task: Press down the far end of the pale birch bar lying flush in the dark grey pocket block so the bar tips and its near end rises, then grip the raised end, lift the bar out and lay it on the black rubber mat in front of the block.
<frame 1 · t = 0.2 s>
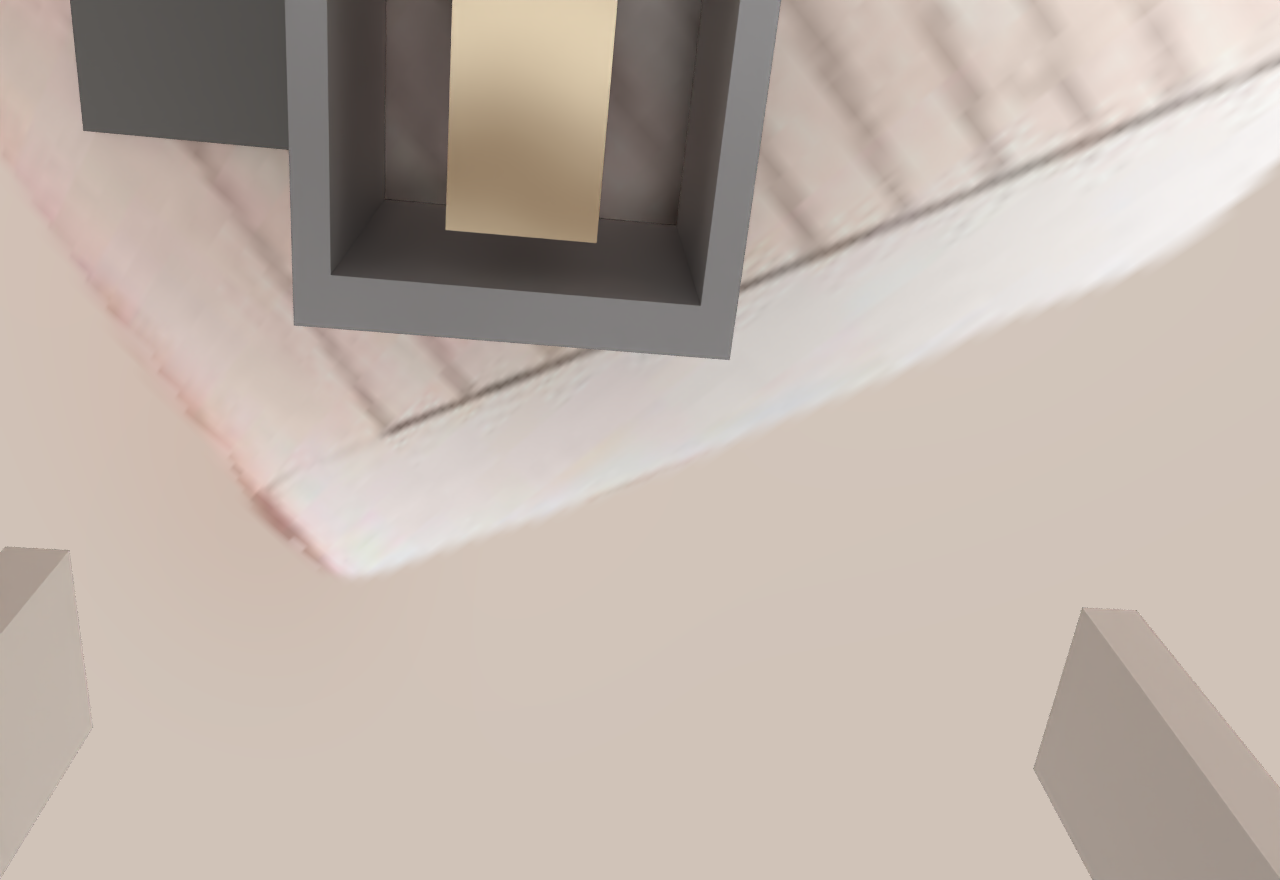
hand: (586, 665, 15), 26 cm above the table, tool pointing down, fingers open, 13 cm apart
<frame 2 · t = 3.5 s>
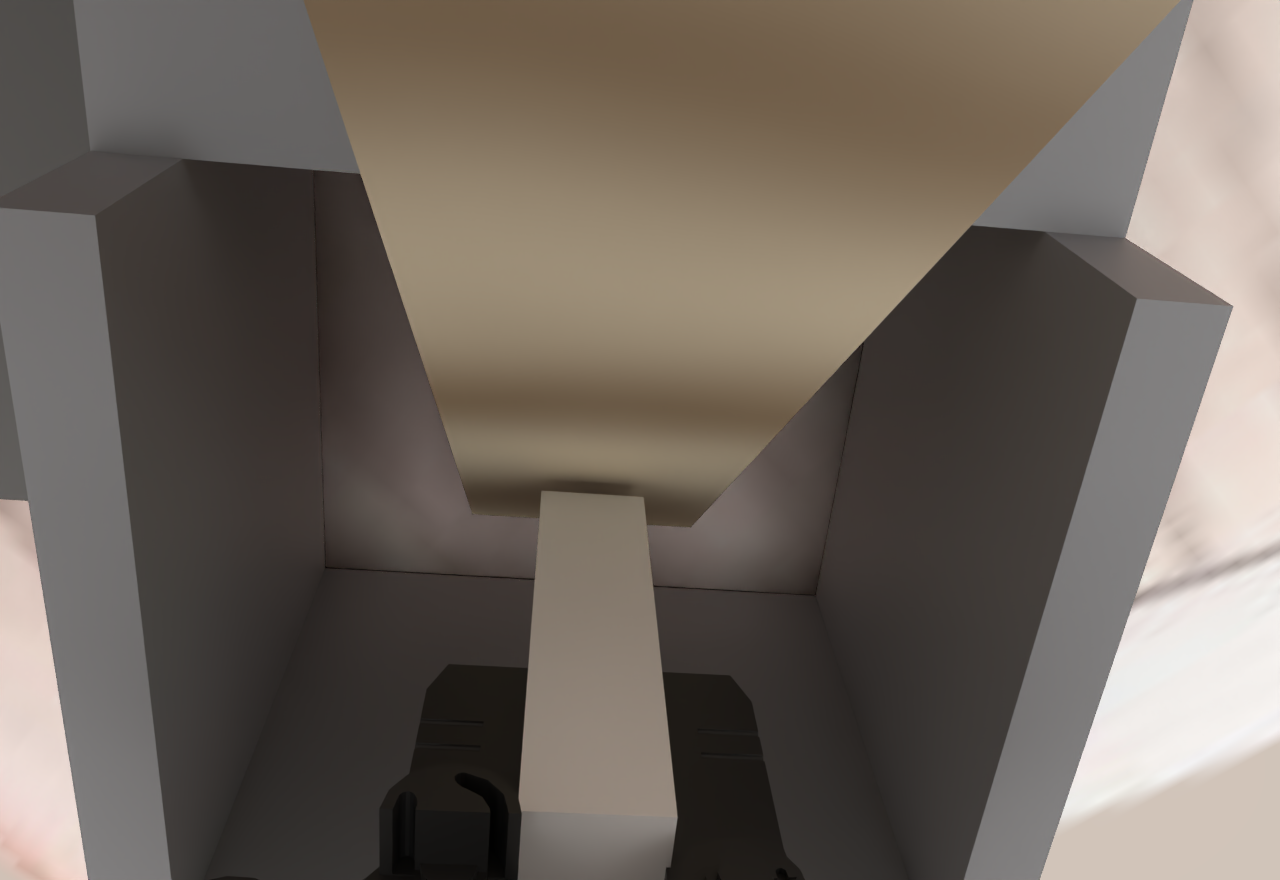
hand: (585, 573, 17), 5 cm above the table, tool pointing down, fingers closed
birch bar: (630, 173, 12), point 7 cm above the table, tilted 51°, touching gripper, pocket block
pocket block: (614, 103, 19), on the table
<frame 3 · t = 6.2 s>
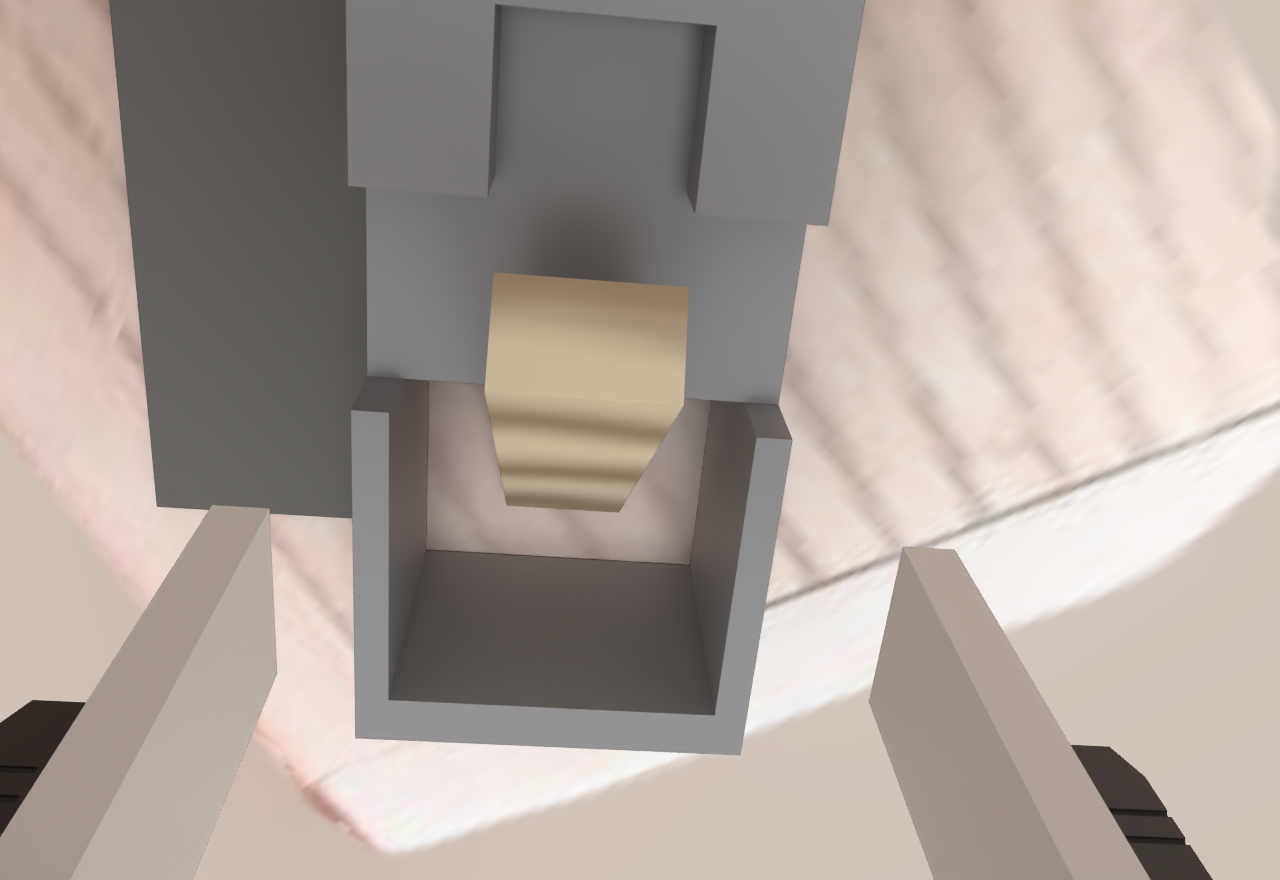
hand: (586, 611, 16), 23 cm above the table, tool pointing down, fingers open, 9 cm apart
rubber mat: (262, 237, 37), on the table
birch bar: (576, 382, 32), point 7 cm above the table, tilted 55°, touching pocket block
pocket block: (576, 319, 39), on the table
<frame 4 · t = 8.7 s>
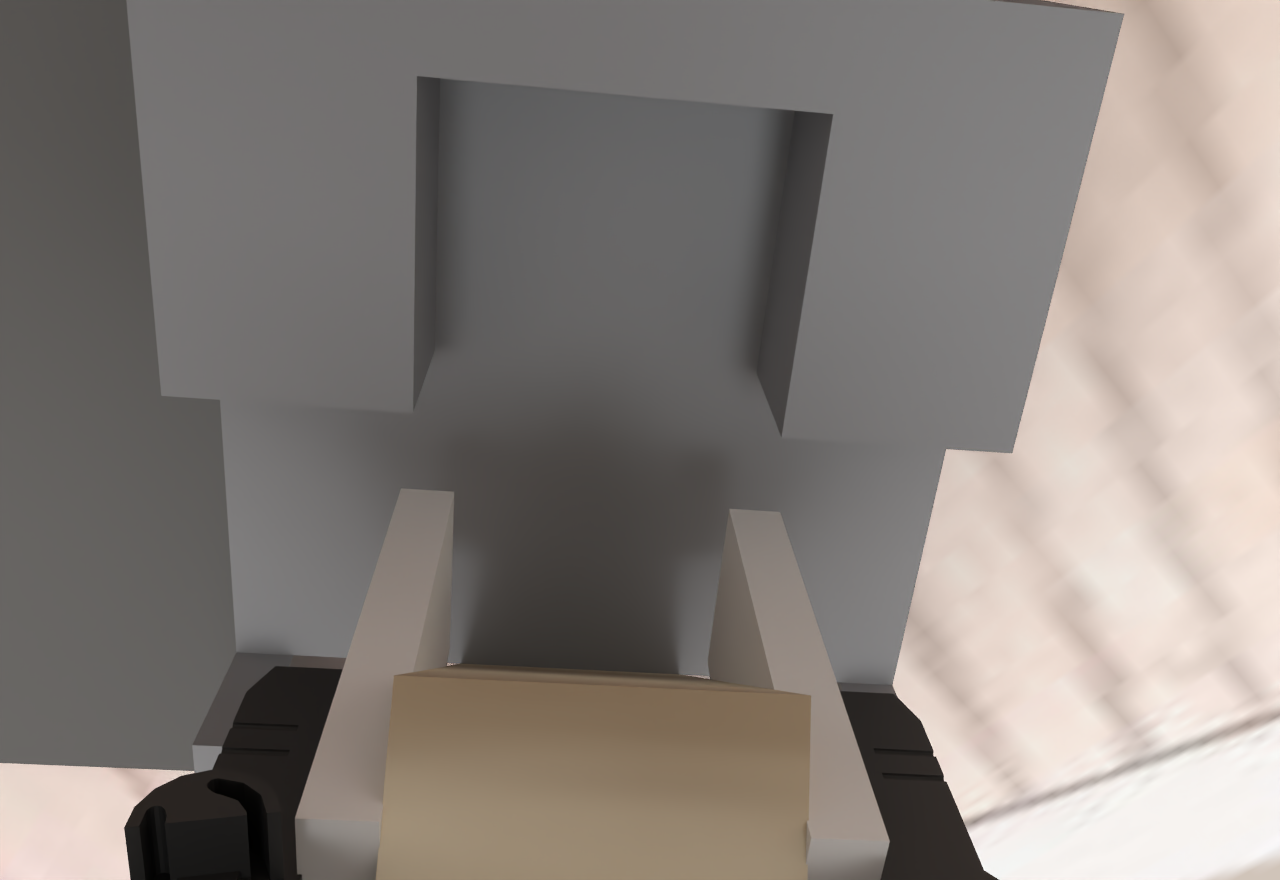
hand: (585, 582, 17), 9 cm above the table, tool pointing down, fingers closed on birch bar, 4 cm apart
rubber mat: (105, 393, 25), on the table
birch bar: (572, 670, 20), point 7 cm above the table, tilted 55°, touching gripper, pocket block
pocket block: (574, 502, 26), on the table
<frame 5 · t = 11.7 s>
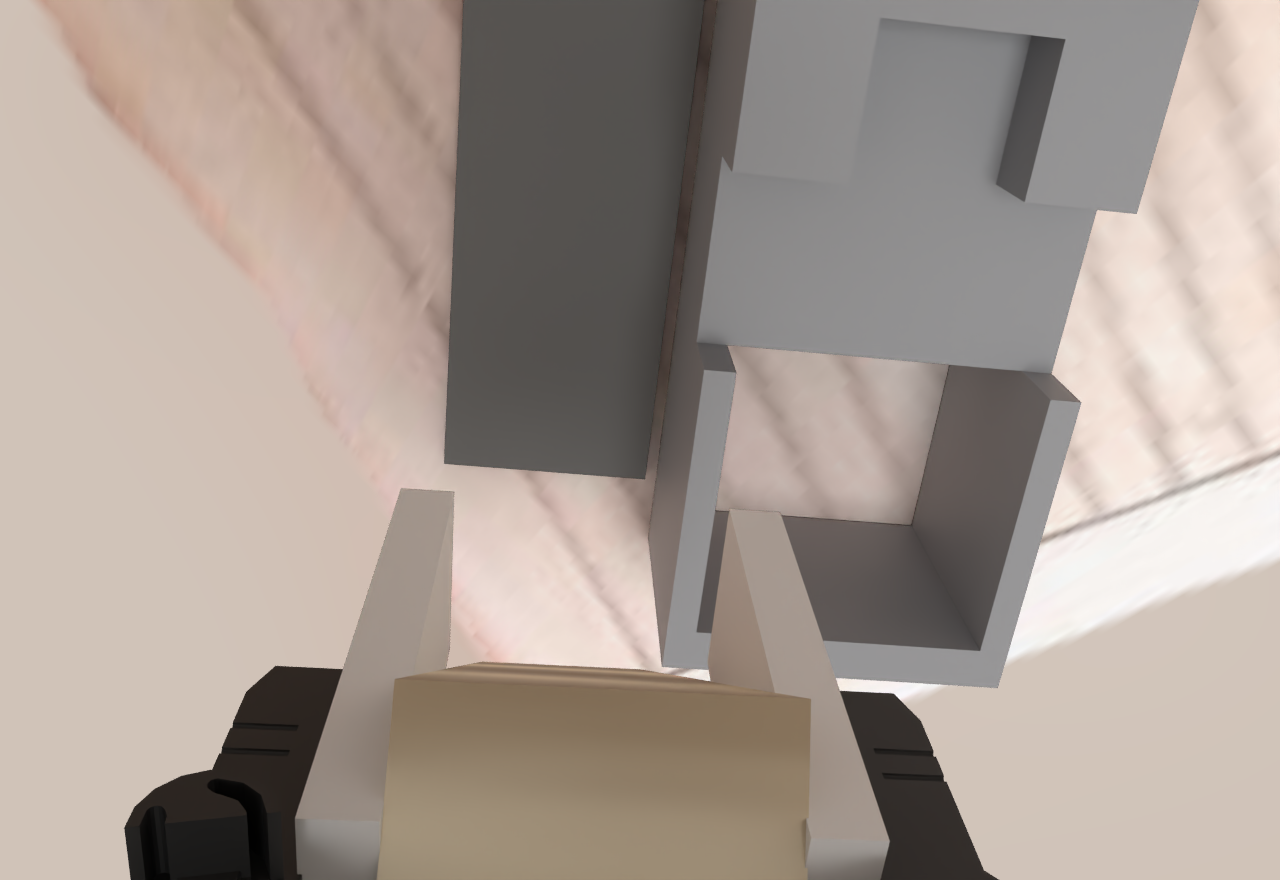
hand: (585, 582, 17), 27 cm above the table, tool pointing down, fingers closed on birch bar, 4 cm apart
rubber mat: (566, 220, 41), on the table
birch bar: (574, 672, 20), point 25 cm above the table, tilted 55°, touching gripper
pocket block: (836, 298, 43), on the table
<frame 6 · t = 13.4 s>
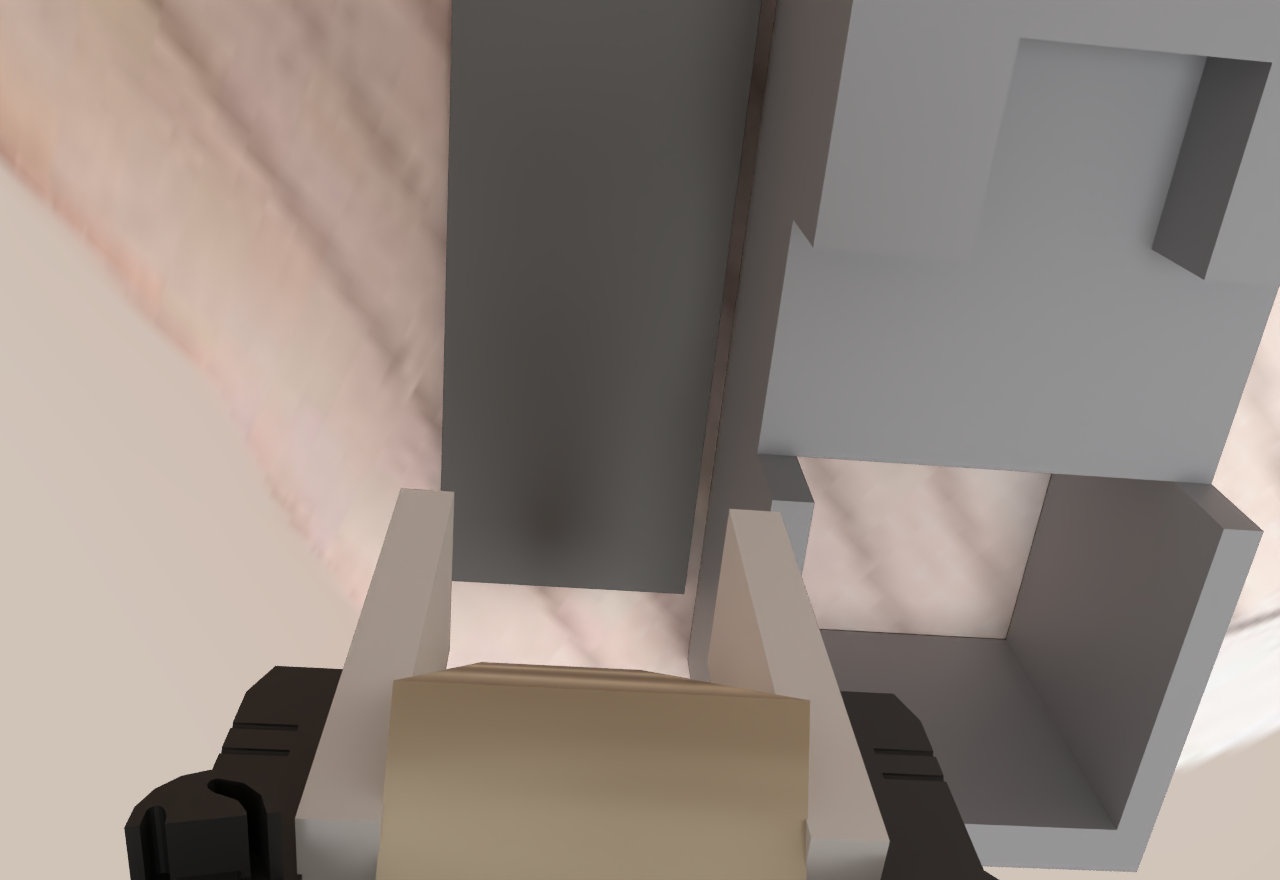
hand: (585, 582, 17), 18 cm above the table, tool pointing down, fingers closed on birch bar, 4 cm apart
rubber mat: (585, 287, 33), on the table
birch bar: (573, 672, 20), point 16 cm above the table, tilted 54°, touching gripper
pocket block: (919, 375, 35), on the table
when the fingers open (12 cm above the table, at t = 14.7 s): birch bar drops 10 cm, resting on rubber mat.
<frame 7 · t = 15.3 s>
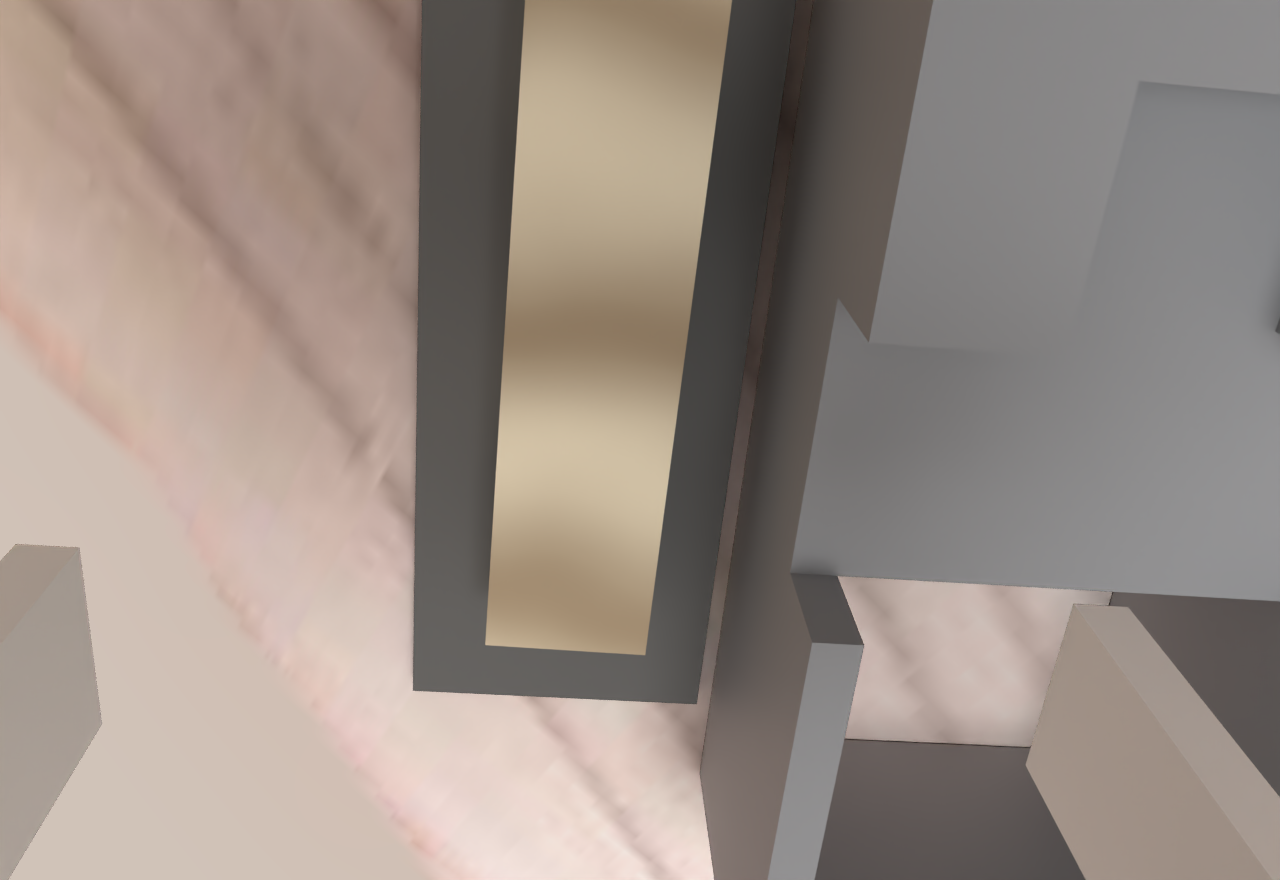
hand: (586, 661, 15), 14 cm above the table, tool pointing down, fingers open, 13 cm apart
rubber mat: (581, 358, 28), on the table
birch bar: (597, 273, 27), point 1 cm above the table, touching rubber mat
pocket block: (971, 457, 30), on the table
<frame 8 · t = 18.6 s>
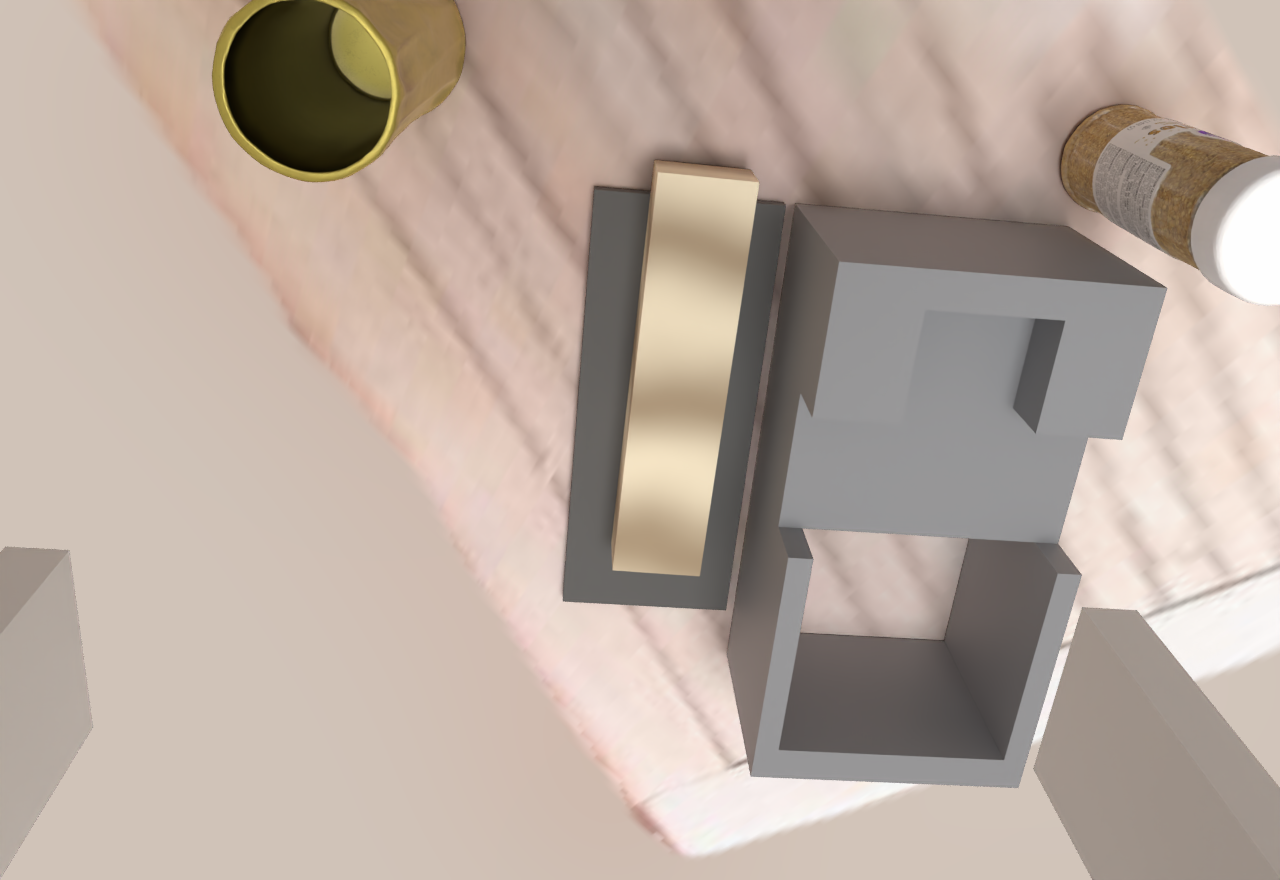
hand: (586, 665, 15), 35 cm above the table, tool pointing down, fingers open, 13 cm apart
rubber mat: (665, 413, 51), on the table
sprinkles bottle: (1107, 157, 48), on the table
vase: (388, 40, 44), on the table
birch bar: (676, 369, 50), point 1 cm above the table, touching rubber mat
pocket block: (882, 467, 53), on the table
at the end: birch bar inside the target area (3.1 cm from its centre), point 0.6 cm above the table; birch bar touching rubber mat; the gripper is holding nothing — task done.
